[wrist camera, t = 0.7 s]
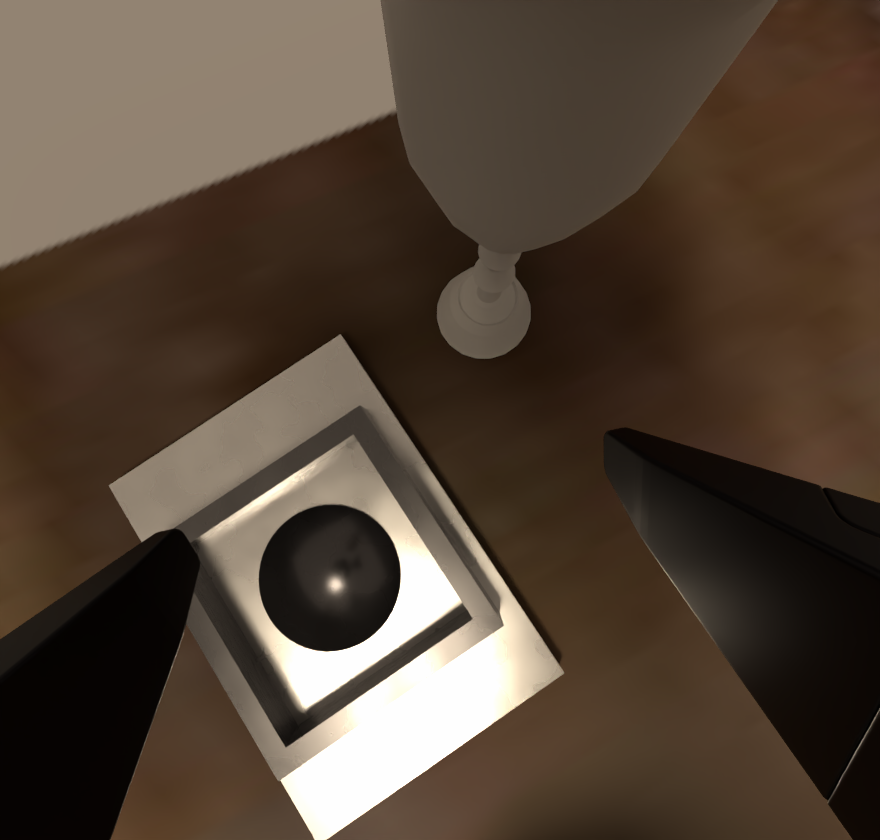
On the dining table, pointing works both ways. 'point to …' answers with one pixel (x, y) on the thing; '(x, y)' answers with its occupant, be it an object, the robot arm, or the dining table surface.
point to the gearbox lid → (337, 587)
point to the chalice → (544, 122)
